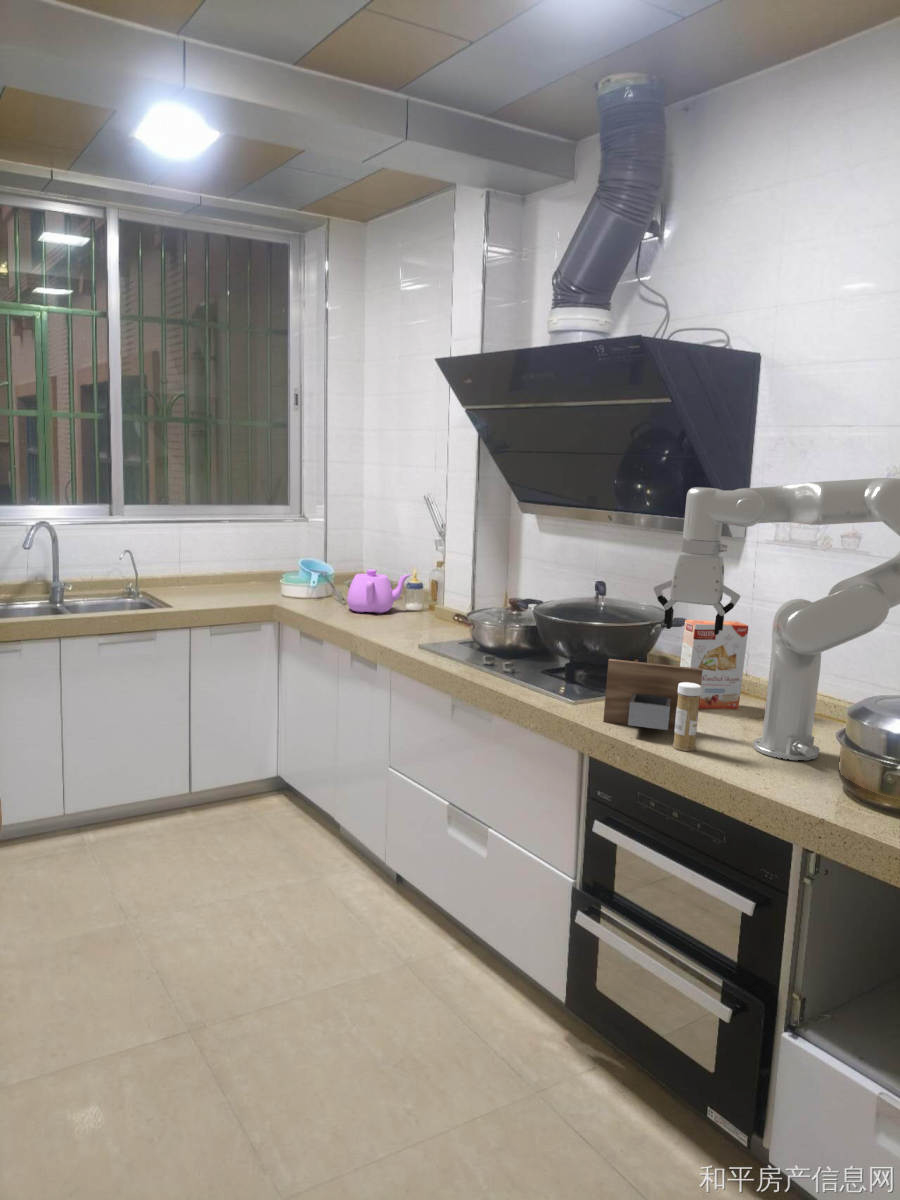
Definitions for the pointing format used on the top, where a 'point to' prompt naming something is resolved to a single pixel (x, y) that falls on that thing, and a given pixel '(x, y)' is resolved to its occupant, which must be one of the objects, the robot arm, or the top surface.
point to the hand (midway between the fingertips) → (692, 630)
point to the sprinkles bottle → (686, 716)
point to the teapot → (373, 592)
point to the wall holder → (645, 693)
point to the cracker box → (716, 660)
